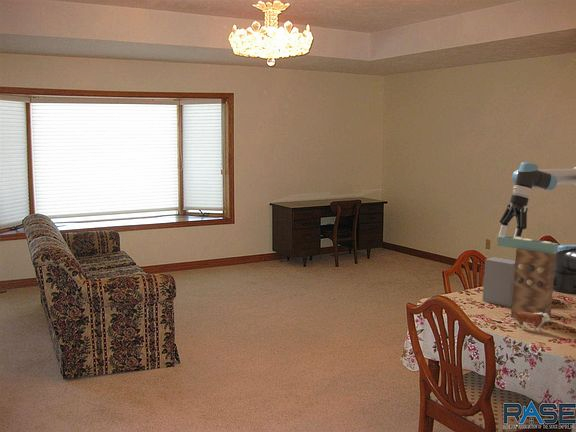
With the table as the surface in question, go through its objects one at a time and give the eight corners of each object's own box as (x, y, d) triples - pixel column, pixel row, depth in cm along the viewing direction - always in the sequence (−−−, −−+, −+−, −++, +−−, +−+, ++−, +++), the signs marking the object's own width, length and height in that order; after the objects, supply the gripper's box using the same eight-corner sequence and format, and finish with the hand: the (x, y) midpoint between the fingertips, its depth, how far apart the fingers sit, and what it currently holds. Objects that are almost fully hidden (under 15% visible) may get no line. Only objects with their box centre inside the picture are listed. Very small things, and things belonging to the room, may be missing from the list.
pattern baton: (557, 252, 256) (558, 242, 256) (553, 254, 254) (554, 244, 253) (501, 244, 272) (502, 234, 272) (497, 245, 269) (498, 235, 269)
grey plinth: (516, 303, 288) (519, 261, 285) (509, 306, 282) (512, 264, 279) (489, 297, 297) (492, 257, 294) (482, 301, 291) (485, 259, 288)
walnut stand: (549, 321, 263) (556, 252, 258) (542, 325, 257) (549, 254, 252) (517, 313, 272) (522, 247, 268) (510, 317, 266) (515, 249, 262)
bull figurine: (548, 334, 245) (550, 315, 244) (513, 328, 252) (515, 309, 251) (550, 331, 249) (552, 312, 248) (516, 325, 256) (517, 306, 255)
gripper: (500, 192, 293) (488, 235, 295) (527, 196, 269) (514, 243, 270) (514, 195, 294) (502, 238, 296) (542, 200, 270) (529, 247, 271)
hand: (507, 241), depth 283 cm, fingers open, 13 cm apart
